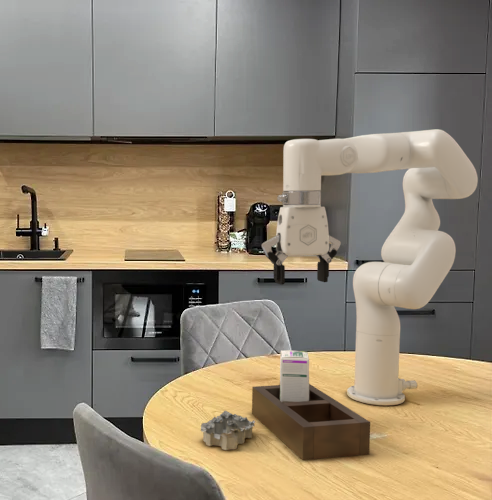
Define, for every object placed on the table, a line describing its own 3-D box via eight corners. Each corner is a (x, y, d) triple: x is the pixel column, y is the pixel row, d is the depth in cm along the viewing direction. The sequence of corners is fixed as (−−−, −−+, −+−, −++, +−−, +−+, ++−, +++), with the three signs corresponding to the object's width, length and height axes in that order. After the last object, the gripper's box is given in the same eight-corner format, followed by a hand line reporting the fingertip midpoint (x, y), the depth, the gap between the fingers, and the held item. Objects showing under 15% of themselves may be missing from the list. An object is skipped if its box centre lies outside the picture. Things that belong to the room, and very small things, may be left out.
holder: (307, 410, 135) (308, 383, 134) (369, 454, 112) (370, 422, 111) (251, 413, 132) (252, 386, 132) (302, 460, 109) (303, 427, 108)
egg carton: (231, 453, 112) (231, 431, 111) (196, 443, 116) (196, 422, 116) (258, 435, 120) (259, 415, 120) (225, 426, 125) (225, 407, 124)
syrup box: (309, 428, 124) (311, 357, 123) (279, 426, 125) (280, 356, 124) (307, 418, 130) (309, 350, 128) (278, 416, 131) (280, 349, 130)
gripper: (270, 201, 121) (270, 287, 123) (349, 199, 125) (348, 283, 127) (255, 200, 129) (255, 282, 130) (330, 199, 133) (329, 278, 134)
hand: (301, 282), depth 129 cm, fingers open, 9 cm apart
